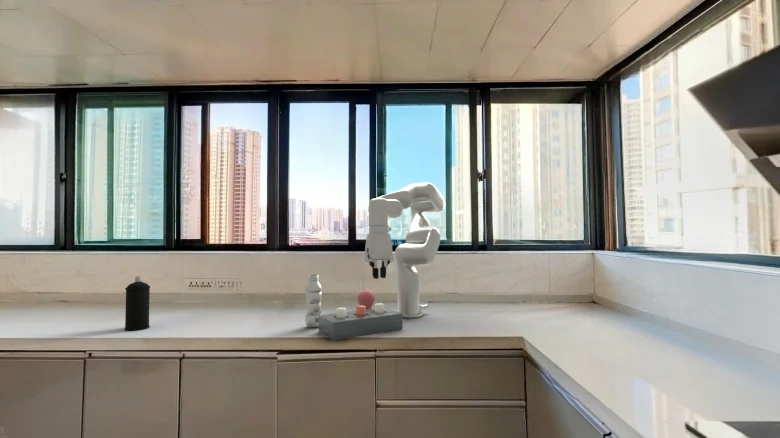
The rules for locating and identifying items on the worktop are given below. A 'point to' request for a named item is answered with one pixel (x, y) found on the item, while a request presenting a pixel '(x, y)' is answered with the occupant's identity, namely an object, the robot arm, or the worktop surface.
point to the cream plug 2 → (379, 308)
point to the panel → (359, 324)
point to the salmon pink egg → (360, 310)
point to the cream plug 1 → (340, 313)
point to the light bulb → (366, 299)
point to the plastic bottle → (313, 301)
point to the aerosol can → (137, 305)
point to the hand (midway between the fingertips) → (379, 277)
